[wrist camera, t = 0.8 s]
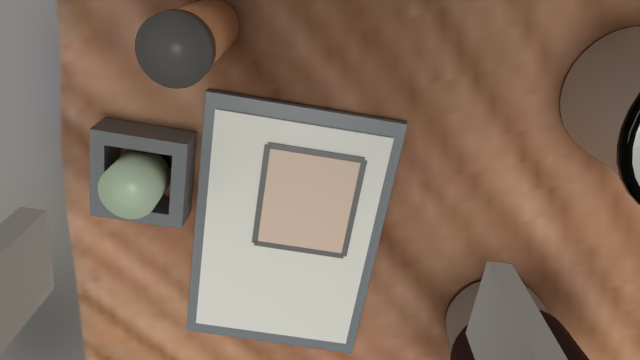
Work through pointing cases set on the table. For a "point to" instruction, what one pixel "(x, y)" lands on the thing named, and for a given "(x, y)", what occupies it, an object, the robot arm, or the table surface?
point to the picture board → (288, 219)
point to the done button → (134, 184)
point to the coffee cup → (461, 315)
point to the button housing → (149, 139)
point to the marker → (185, 42)
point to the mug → (607, 104)
